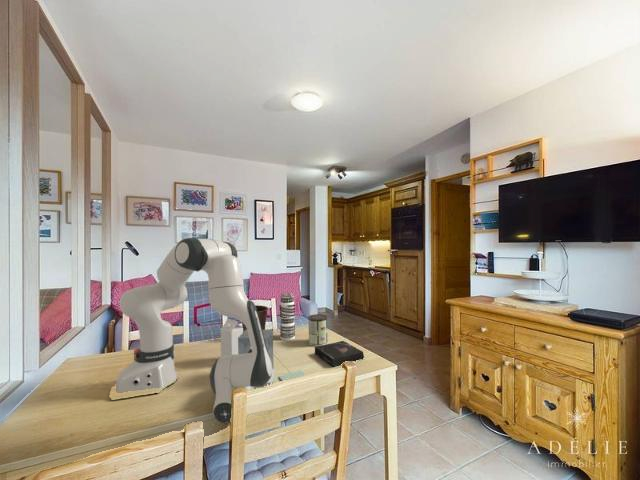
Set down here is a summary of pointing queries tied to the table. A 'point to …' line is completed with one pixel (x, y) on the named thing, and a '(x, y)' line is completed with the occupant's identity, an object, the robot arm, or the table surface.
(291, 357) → the table surface
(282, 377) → the pad
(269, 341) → the frame
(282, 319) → the white and brown cylinder
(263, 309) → the plant pot
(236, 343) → the milk carton
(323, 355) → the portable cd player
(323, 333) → the coffee can
